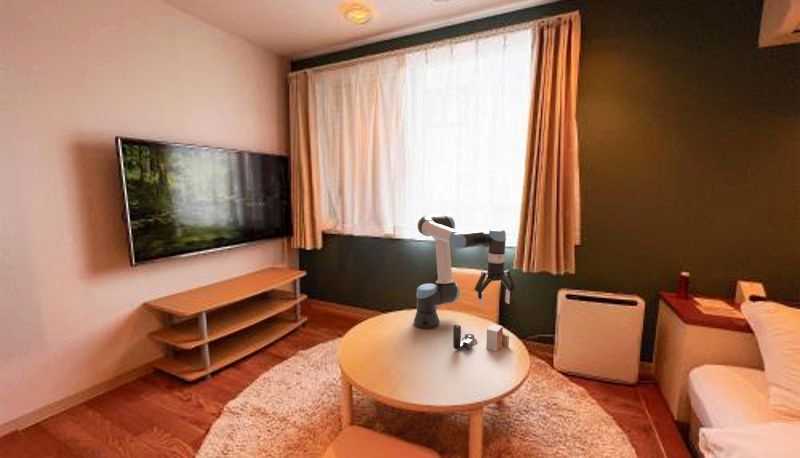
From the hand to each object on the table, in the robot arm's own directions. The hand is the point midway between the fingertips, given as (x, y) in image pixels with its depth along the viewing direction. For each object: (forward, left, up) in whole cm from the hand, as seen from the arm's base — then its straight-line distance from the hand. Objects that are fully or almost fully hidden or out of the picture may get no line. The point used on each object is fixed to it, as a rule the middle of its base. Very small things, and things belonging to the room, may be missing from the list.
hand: (494, 303), depth 160 cm
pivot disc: (-14, -2, -25) cm, 28 cm away
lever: (-11, -8, -24) cm, 28 cm away
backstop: (-2, +10, -25) cm, 27 cm away
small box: (-2, +4, -25) cm, 26 cm away
